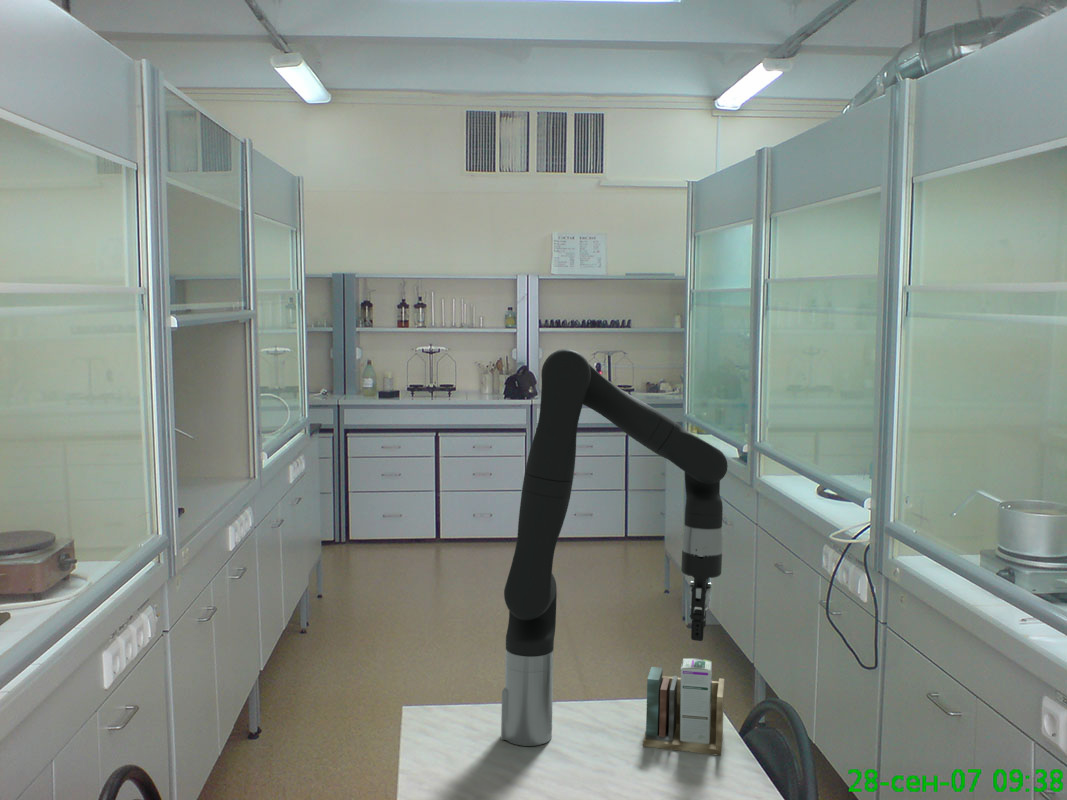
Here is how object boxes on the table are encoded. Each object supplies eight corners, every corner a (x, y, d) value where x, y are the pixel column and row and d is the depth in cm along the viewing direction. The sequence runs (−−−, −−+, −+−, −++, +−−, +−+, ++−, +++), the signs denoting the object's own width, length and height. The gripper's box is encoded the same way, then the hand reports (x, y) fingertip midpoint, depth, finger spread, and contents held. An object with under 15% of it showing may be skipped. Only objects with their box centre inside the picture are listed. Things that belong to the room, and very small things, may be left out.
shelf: (642, 746, 172) (644, 682, 172) (649, 723, 183) (651, 663, 182) (720, 755, 169) (722, 690, 168) (722, 731, 179) (724, 670, 179)
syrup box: (710, 745, 171) (712, 669, 170) (678, 741, 172) (680, 666, 171) (711, 733, 176) (713, 659, 176) (680, 729, 178) (682, 656, 177)
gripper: (684, 540, 180) (681, 620, 181) (679, 555, 166) (675, 642, 167) (723, 543, 178) (719, 624, 179) (720, 559, 165) (717, 647, 166)
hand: (698, 633), depth 173 cm, fingers open, 8 cm apart
